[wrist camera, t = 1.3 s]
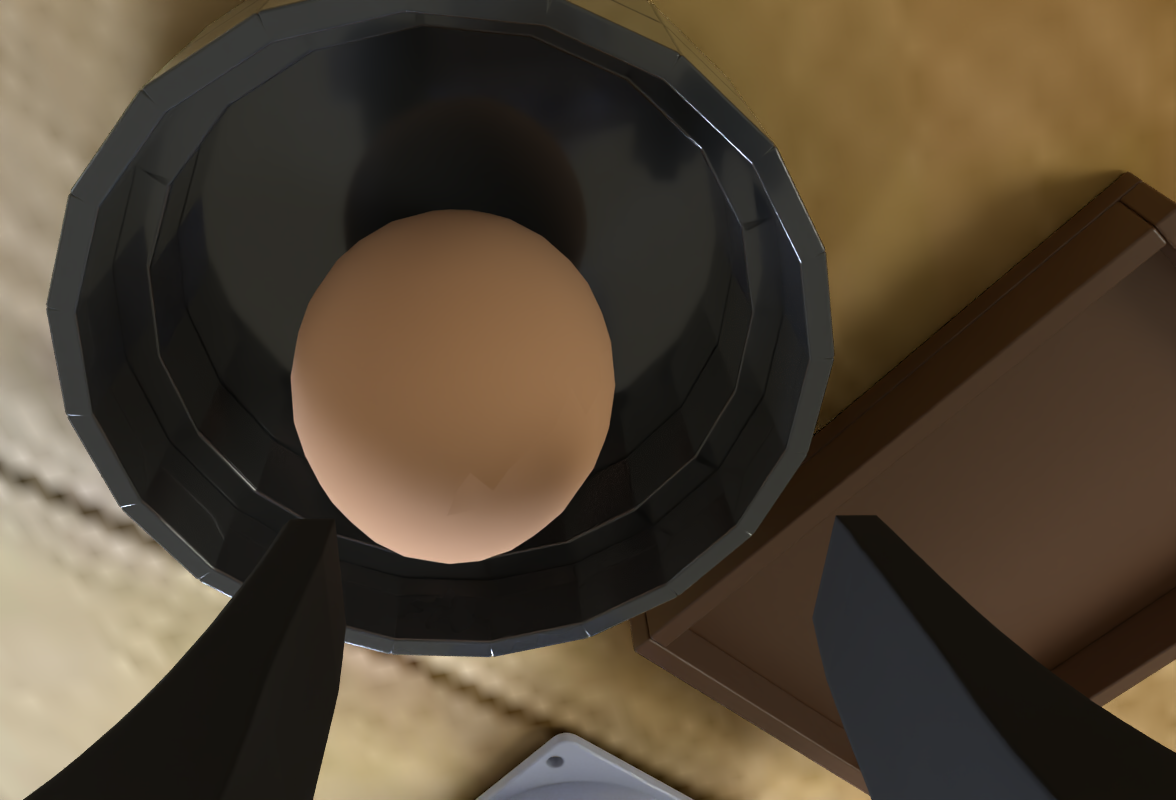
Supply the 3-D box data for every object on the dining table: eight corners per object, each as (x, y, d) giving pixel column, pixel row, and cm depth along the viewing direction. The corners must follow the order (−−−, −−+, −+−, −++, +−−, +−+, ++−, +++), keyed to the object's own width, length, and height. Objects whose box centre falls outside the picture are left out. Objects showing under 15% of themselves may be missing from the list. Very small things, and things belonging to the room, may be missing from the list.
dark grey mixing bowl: (502, 609, 28) (503, 742, 25) (6, 314, 23) (-94, 428, 19) (904, 249, 23) (983, 346, 19) (399, -250, 17) (370, -249, 14)
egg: (283, 190, 21) (183, 394, 14) (568, 129, 21) (601, 308, 14) (371, 426, 24) (322, 681, 18) (619, 376, 24) (665, 615, 17)
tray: (894, 768, 33) (916, 825, 32) (624, 595, 28) (633, 651, 27) (1362, 455, 28) (1421, 504, 26) (1127, 169, 23) (1180, 205, 21)
